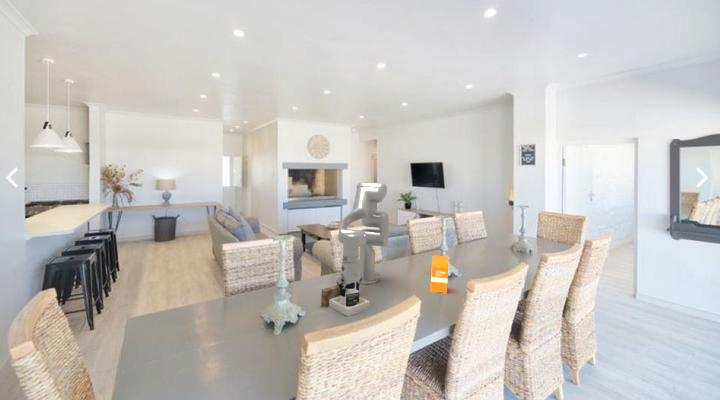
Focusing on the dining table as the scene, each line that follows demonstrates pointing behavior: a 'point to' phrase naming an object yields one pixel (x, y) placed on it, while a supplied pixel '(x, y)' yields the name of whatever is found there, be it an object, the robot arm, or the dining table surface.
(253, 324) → the dining table surface
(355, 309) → the white square tray
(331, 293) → the backstop wall
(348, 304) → the medicine bottle
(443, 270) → the orange juice
